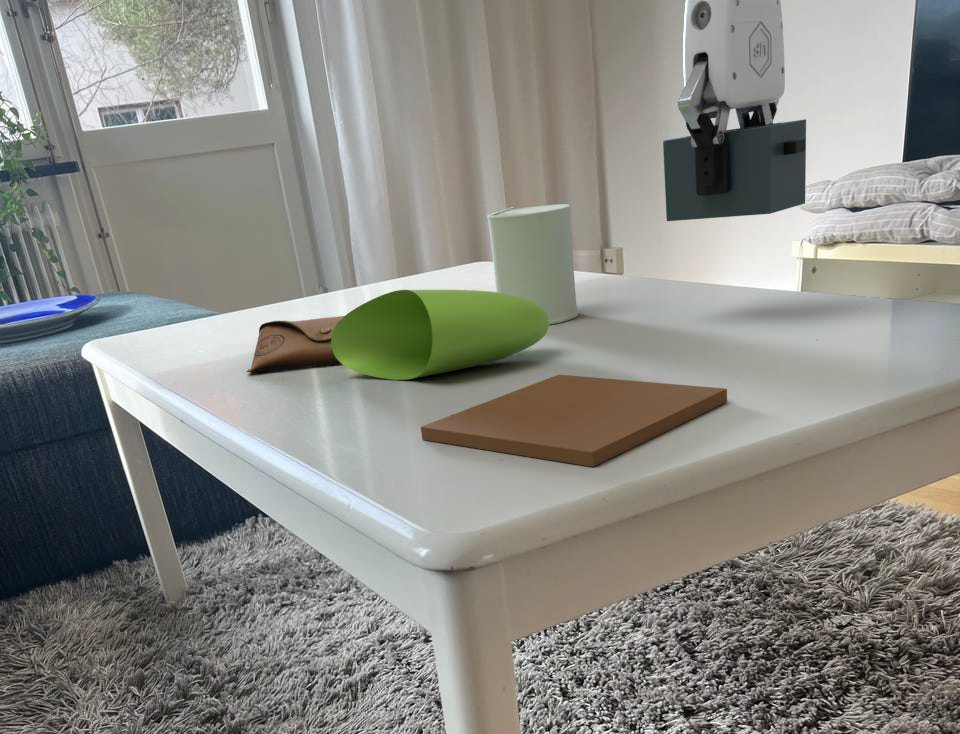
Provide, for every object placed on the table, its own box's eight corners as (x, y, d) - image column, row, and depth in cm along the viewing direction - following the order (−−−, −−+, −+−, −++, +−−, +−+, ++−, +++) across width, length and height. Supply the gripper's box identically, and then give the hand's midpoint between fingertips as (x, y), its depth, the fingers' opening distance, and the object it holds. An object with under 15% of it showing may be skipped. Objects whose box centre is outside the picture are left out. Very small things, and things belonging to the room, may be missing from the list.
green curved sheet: (346, 288, 82) (567, 270, 87) (325, 302, 93) (521, 285, 98) (359, 384, 84) (574, 361, 89) (337, 386, 95) (528, 366, 100)
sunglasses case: (241, 371, 101) (238, 309, 102) (264, 392, 108) (261, 333, 109) (410, 353, 99) (407, 290, 100) (423, 375, 106) (419, 316, 107)
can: (501, 316, 116) (490, 207, 110) (579, 308, 115) (571, 197, 109) (494, 331, 108) (481, 214, 102) (577, 322, 107) (569, 203, 101)
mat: (727, 401, 71) (727, 388, 71) (593, 467, 62) (592, 452, 61) (559, 386, 82) (558, 374, 81) (422, 439, 72) (420, 426, 72)
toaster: (817, 202, 90) (819, 116, 87) (782, 213, 86) (782, 123, 83) (703, 211, 98) (700, 133, 95) (666, 221, 94) (662, 140, 91)
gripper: (713, -52, 76) (719, 198, 84) (819, -48, 86) (816, 174, 94) (634, -29, 81) (647, 205, 89) (743, -29, 91) (746, 181, 99)
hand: (734, 187), depth 91 cm, fingers closed on toaster, 6 cm apart
